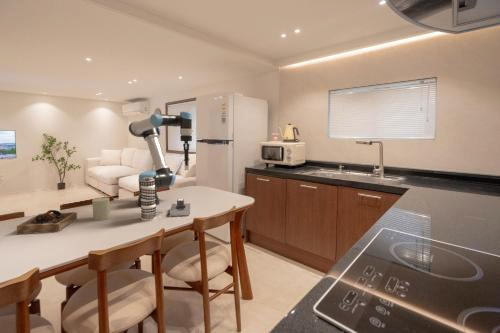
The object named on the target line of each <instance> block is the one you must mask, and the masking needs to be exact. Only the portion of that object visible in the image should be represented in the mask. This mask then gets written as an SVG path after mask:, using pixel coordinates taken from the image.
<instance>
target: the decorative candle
mask: <svg viewBox="0 0 500 333" xmlns="http://www.w3.org/2000/svg"><path fill="white" fill-rule="evenodd" d="M154 180H155V179H153V178H152V177H144V178H142V180H140V181H141V187H140V192H141V193H140V195H141V196H140V198H141V201H142V205H141V206H140V209H141V211H140V212H141V215H140V217H141V220H142V221H145V222H147V221H148V222H150V221H154V220H156V219H157V209H156V208H157V205H156V204H155V199H156V198H155V197H156V195H155V193H156V192H155V191H156V189H154V187H156V186H155V185H154Z"/></svg>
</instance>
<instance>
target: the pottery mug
mask: <svg viewBox="0 0 500 333" xmlns="http://www.w3.org/2000/svg"><path fill="white" fill-rule="evenodd" d="M44 213H45V214H44ZM44 213H42V214H43V215H39V214H37V215H38V216H37V215H35V216H36V218H35V220H36V221H37V222H39V223H38V224H44V222H50V221H49V219H52V220H54V221H53V222H52V223H58V222H60V221H61V219H62V217H61V216H62V214H61V213H62V212H60V211H58V210H55V209H50V210H47V212H44ZM50 213H53V214H58V215H59V216H57V218H55V216H52V215H50ZM39 218H41V219H40V220H39Z"/></svg>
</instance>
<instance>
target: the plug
mask: <svg viewBox="0 0 500 333" xmlns="http://www.w3.org/2000/svg"><path fill="white" fill-rule="evenodd" d="M176 204H177V209H184V204H185V199H183V198H180V199H177V201H176Z"/></svg>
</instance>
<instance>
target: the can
mask: <svg viewBox="0 0 500 333" xmlns="http://www.w3.org/2000/svg"><path fill="white" fill-rule="evenodd" d="M91 202H92V220H94V221H104V220H107V219H110V218H111V211H110V210H111V209H110V207H111V206H110V197H105V196H104V197H96V198H92V200H91Z"/></svg>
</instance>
